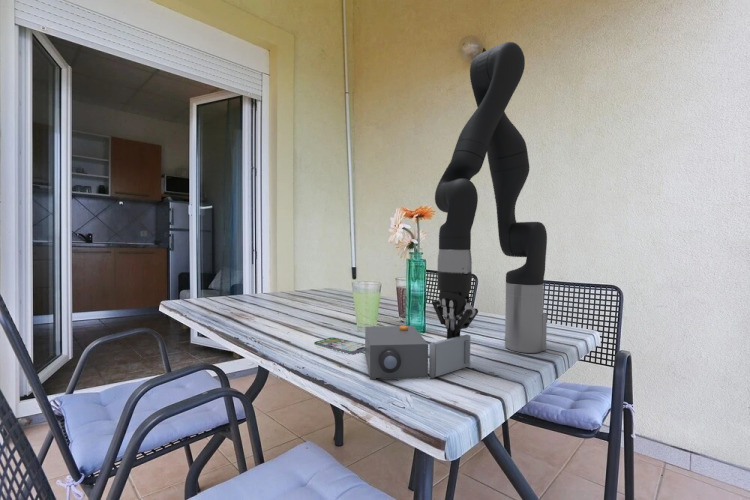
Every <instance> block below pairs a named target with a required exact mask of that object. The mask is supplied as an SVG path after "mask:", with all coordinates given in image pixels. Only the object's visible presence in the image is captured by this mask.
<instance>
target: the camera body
mask: <svg viewBox="0 0 750 500" xmlns="http://www.w3.org/2000/svg"><path fill="white" fill-rule="evenodd" d="M364 329H365V331H364V335H365V336H364V337H365V342H364V344H365V351H364V355H365V360H366V366H367V372H368V376H370V377H369V380H377V379H376V378H400V379H420V378H419V377H428V378H429V343H428V342H427V341H426V339H424V337H423V336H422V334H421V333H420V332H419V331H418V330H417V328H416V327H415V326H414V325H391V326H390V325H384V326H381V325H380V326H379V325H377V326H365V328H364Z"/></svg>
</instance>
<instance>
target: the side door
mask: <svg viewBox="0 0 750 500" xmlns="http://www.w3.org/2000/svg"><path fill="white" fill-rule="evenodd" d="M470 366H471V335H470V334H464V335H460V336H458V337H454V338H450V339H447V338H446V339H442V340H437V341H435V342H430V343H429V357H428V378H432V379H433V378H437V377H439V376H443V375H445V374H448V373H451V372H455V371H458V370H461V369H464V368H468V367H470Z"/></svg>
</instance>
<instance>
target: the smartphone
mask: <svg viewBox="0 0 750 500" xmlns="http://www.w3.org/2000/svg"><path fill="white" fill-rule="evenodd" d="M314 345H315V346H320V347H323V348H325V349H329V350H332V349H333V351H336V350H337V351H336V352H339V351H341V353H343V352H344V353H343V354H346V353H348V354H347V355H350V354H353V355H356V353H357V354H359V353H358V352H360V353H362V351H363V352H365V343H362V342H361V343H360V342H358V341H352V340H348V339H342V338H338V337H328V338H324V339H321V340H317V341H314Z"/></svg>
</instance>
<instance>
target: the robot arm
mask: <svg viewBox="0 0 750 500" xmlns="http://www.w3.org/2000/svg"><path fill="white" fill-rule="evenodd" d="M525 62H526V60H525V54H524V52H523V50H522V48H521V47H520V46H519V44H518V43H516V42H514V41H513V42H512V41H507V42H502V43H500V44H498V45H495V46H493V47H492V48H489V49H488V50H484V51H483V52H481V53H480V54H477V55H476V56H474V58H473V59H472V61H471V62H470V68H469V78H470V80H469V81H470V83H471V84H470V85H471V88H472V89H471V90H472V93H473V96H474V99H475V103H476V107H477V109H475V111H474V112H473V113H472V115H471V116H470V117H469V119H468V121H467V122H466V124H465V125H464V127H463V128H462V130H461V132H460V133H459V136H458V138H457V140H456V144H455V146H454V147H455V148H454V150H453V154H452V156H451V159H450V161H449V164H448V165H447V167H446V169H445V170H444V173H443V174H442V176H441V178H440V180H439V182H438V184H437V186H436V189H435V193H434V203H435V205H436V207H437V209H438V210H440V211H441V212H442V213H445V214H446V213H447V214H446V221H445V222H444V223H443V224H442V225H440V227H439V231H438V254H437V273H436V274H437V276H436V277H437V284H436V285H437V289H438V291H440V292H439V295H438V299H437V300H433V301H432V303H431V305H432V307H433V308H434V312H435V314H436V316H437V318H438V321H439V322H440V324H441V325H444V326H445V329H446V339H450V338H454V337H458V336H461V330H462V329H463V330H464V329H468V328H469V326H470V325H471V323H472V322H473V321H474V319H475V318H476V316H477V315H478V314H479V310H478V308H474V307H473V306H472V305H471V299H470V295H469V293H470V291H472V270H473V269H472V267H473V266H472V265H473V261H472V249H471V246H472V245H471V244H472V237H471V236H472V228H473V224H474V221H475V218H476V217H475V216H476V212H477V208H478V198H479V195H478V191H477V187H476V186H475V184H474V183H473V182H472V181H471V180H472V178H473V177H475V176H476V175H477V174H479V172H480V171H481V170H482V166H483V164H484V162H485V158H486V155H487V159H488V160H487V161H488V168H489V172H490V178H491V182H492V187H493V195H494V199H495V207H496V218H497V219H496V220H497V230H498V231H497V232H498V240H499V246H500V249H501V251H502V253H503V254H504V256H507V257H513V258H525V262H524V264H523V265H521V267H517V268H515V269H512V270H509V271H507V272H506V274H505V316H504V317H505V319H504V325H505V326H504V346H505V349H508V350H511V351H513V352H517V353H518V352H519V353H525V354H528V353H529V354H536V353H541V352H543V351H547V331H548V330H547V329H548V327H547V325H548V324H547V322H548V319H547V318H548V315H547V313H545V312H544V300H545V299H544V294H545V293H544V292H545V291H544V289H545V288H544V287H545V285H544V283H545V282H544V281H545V280H544V279H545V273H546V262H547V261H546V260H547V244H548V233H547V228H546V227H545V225H544V223H542V222H540V221H522V222H521V221H520V222H519V221H518V222H517V219H516V204H517V200H518V198H519V196H520V194H521V191H522V190H523V188H524V186H525V184H526V181H527V180H528V179H527V178H528V176H529V174H530V173H529V172H530V162H529V161H530V160H529V154H528V153H529V152H528V147H527V143H526V141H525V139H524V137H523V135H522V134H521V132H520V131H519V130H518V128H517V127H516V126H515V124H513V122H512V121H511V119H510V118H509V117H508V116H507V114H506V112H505V110H506V109H507V106H508V104H509V103H510V101H511V100H512V97H513V95H514V93H515V91H516V89H517V87H518V85H519V84H520V82H521V79H522V77H523V74H524V70H525V66H526V65H525Z"/></svg>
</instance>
